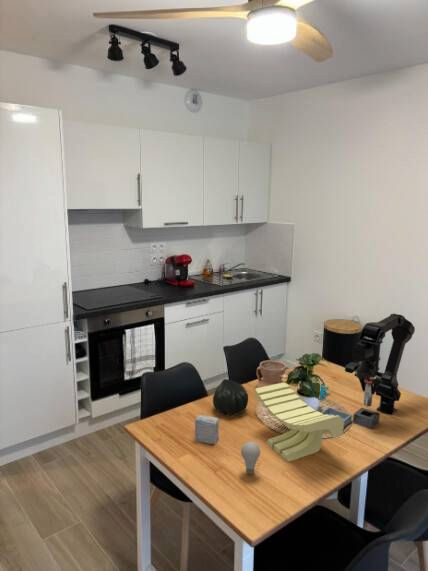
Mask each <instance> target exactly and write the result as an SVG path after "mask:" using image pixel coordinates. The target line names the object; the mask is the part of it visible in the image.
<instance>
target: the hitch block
mask: <svg viewBox="0 0 428 571" xmlns="http://www.w3.org/2000/svg"><path fill="white" fill-rule="evenodd" d="M380 416H381V413H379V412H378V411H374V410H371V409H367V408H364V407H360V408H359V409H358V410H356V411H355V412H354V413H353V416H352V418H353V420H352V421H353V422H352V424H355V425H357V426H361V427H363V428H367V429H368V430H373V429H374V428H375V427H376V426H378V424H380Z"/></svg>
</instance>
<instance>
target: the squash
mask: <svg viewBox="0 0 428 571" xmlns="http://www.w3.org/2000/svg"><path fill="white" fill-rule="evenodd" d="M248 403H249V395H248V391H247V390H246V388H245V387H244V386H243V385H242V383H241V384H240V383H238V382H236V381H234V380H231V379H225V378H224V379H222V381H221V382H220V384H219V385H218V386H217V387H216V389H215V390H214V394H213V398H212V404H213V407H214V409H215V410H216V411H218V412H219V413H220V414H221V415H223V416H229V417H234V416H235V415H236V414H238V415H240V414H241V413H242V412H243V411H245V409H246V408H247V406H248Z"/></svg>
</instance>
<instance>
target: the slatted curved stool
mask: <svg viewBox="0 0 428 571" xmlns="http://www.w3.org/2000/svg"><path fill="white" fill-rule="evenodd" d="M254 391H255V392H254V394H255V395H254V396H255V397H257V398H258V402H260V403H261V404H262V407H263V408H265V409H267V414H268V413H269V414H270V415H271V416H272V417H274V419H276V420H277V421H278V422H280V423H282V424H283V425H284V426H285V427H286V428H288V429H289V431H287V432H285V433H283V434H281V435H278V436H275V437H271V438H268V439H267V441H266V444H267V445H269V447H271V448H273V450H274V451H275V452H276V453H277V454H279V455H281V457H282V458H283V459H284V460H286V462H291V461H295V460H297V459H300V458H303V457H307V456H309V455H312V454H317V452H318V451H320V449H321V448H322V443H323V436H324V434H325V433H328V434H329V435H330V436H331V437H332V438H337V437H340V436H342V435H344V428H343V427H344V422H343V419H342V418H341V417H340V416H338V415H337V416H334V415H331V416H329V415H327V414H326V415H324V414H322V413H321V412H320V411H319V410H316V409H314V408H313V407H311V406H309V405H308V403H306V402H304V400H301V397H300V396H299V395H298V394H297V393H296V392H295V390H293V388H292V387H291V385H289V384H288V383H286V382H285V383H279V384H274V385H270V386H265V387H260V388H257V387H256V388H254Z"/></svg>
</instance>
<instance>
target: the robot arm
mask: <svg viewBox="0 0 428 571" xmlns="http://www.w3.org/2000/svg"><path fill="white" fill-rule="evenodd" d="M415 330H416V328H415V326H414V324H413V323H412V322H411V321H410V320H408V319H407V318H406V317H405V316H404V315H402V314H398V313H391V314H389V316H387V317H385V318H383V319H380V321H375V322H374V321H372V322H366V323H365V325H364V326H363V327H362V329H361V332H360V334H359V336H358V338H357V341H358V342H357V343H356V346H354V347H353V348H352V350H351V351H350V352H351V356H352V358H353V360H354V361H356V362H354V361H351V362H349V363H347V364H346V365H345V367H344V372H345V373H350V374H353V373H354V374H353V375H354V377H356V378H357V379H358V380H359V384H360V386H361V389H362V392H363V393H365V382H364V379H365V380H368V379H370V377H373V378H375V379H374V380H373V382H374V384H373V391H372V396H373V395H376V396H379V397H380V400H379V406H378V407H377V408H376V412H382V413H383V414H387V415H390V416H391V415H393V414H394V413H395V412H397V410H398V409H397V408H396V407H395V402H399V401H400V398H401V395H402V394H401V392H400V390H399V388H398V387H399V382H398V379H397V377H398V376H397V375H398V371H399V368H400V363H401V361H402V357H403V353H404V350H405V346H406V344H407V343H408V342H409V341H411V339H412V338H413V335H414V334H415ZM389 331H391V337H392V340H393V341H392V344H391V348H390V351H389V354H388V359H387V362H386V366H385V369H384V372H381V371H379V370H380V367H379V365H380V360H381V357H380V352H381V344H383V343H384V341H383V339H384V338H385V337H386V334H387V332H389ZM357 362H361V363H357Z"/></svg>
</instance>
